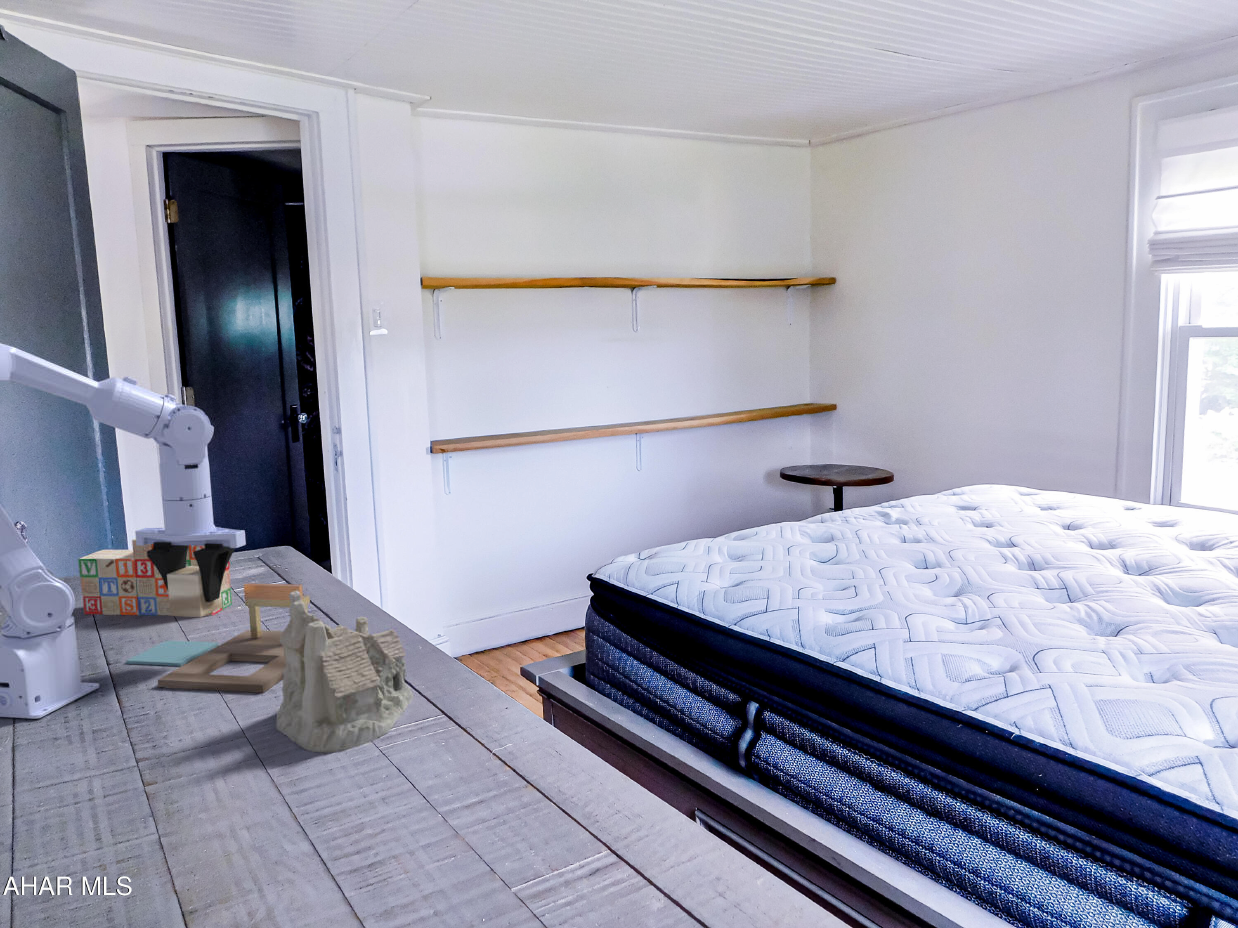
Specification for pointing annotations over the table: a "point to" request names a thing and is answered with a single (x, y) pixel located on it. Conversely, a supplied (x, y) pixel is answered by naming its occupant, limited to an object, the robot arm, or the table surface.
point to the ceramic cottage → (339, 682)
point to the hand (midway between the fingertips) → (195, 599)
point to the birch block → (189, 594)
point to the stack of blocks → (132, 582)
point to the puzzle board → (233, 650)
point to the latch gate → (268, 600)
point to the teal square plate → (172, 653)
